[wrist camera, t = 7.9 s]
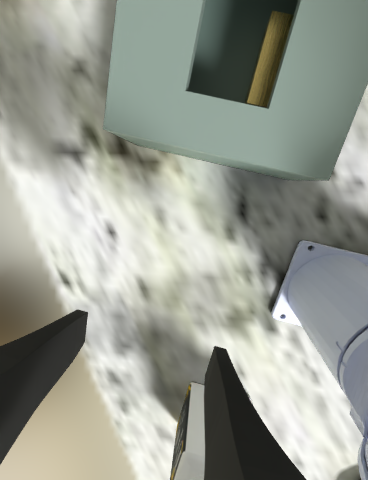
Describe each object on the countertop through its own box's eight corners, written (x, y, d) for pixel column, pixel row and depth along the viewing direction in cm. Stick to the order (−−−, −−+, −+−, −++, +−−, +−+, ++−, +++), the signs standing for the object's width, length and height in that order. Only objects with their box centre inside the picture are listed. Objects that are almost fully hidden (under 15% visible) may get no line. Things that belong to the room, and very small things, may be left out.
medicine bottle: (190, 379, 25) (173, 551, 13) (252, 396, 25) (290, 587, 13) (176, 423, 27) (153, 606, 15) (234, 440, 27) (253, 639, 15)
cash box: (357, -19, 15) (465, -163, 8) (288, 180, 18) (329, 180, 12) (167, -55, 15) (139, -213, 9) (137, 145, 19) (103, 129, 13)
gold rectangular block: (263, 35, 16) (326, 48, 15) (241, 112, 17) (299, 126, 17) (272, 10, 13) (347, 25, 13) (246, 102, 15) (314, 117, 15)
